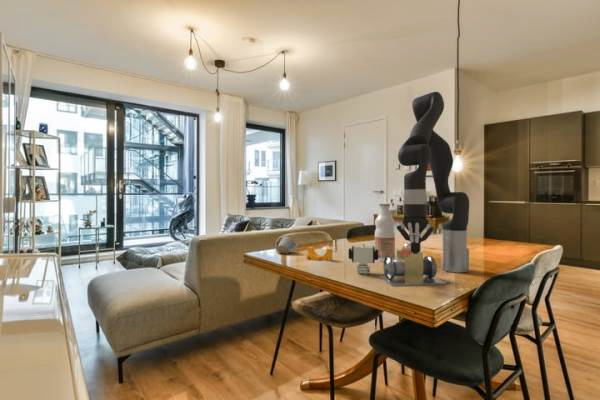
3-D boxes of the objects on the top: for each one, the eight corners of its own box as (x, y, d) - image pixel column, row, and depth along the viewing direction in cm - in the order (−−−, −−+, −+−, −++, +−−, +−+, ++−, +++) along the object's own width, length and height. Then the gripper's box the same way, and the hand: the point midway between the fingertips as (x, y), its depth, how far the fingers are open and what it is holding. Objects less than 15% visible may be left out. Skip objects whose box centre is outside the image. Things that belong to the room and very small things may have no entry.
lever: (415, 250, 120) (415, 243, 120) (411, 257, 105) (411, 249, 105) (404, 249, 121) (404, 242, 121) (398, 256, 106) (398, 249, 106)
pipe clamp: (306, 261, 155) (306, 247, 155) (310, 259, 159) (310, 246, 159) (329, 263, 150) (329, 249, 150) (332, 261, 154) (332, 248, 154)
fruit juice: (370, 261, 154) (370, 203, 154) (383, 259, 159) (383, 203, 159) (385, 264, 146) (386, 204, 146) (398, 262, 152) (398, 204, 152)
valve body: (427, 275, 125) (427, 248, 125) (446, 284, 112) (446, 253, 112) (378, 277, 122) (379, 249, 122) (392, 286, 110) (392, 255, 109)
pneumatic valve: (378, 275, 125) (378, 245, 125) (348, 273, 128) (348, 244, 128) (377, 272, 131) (377, 243, 131) (349, 270, 133) (349, 242, 133)
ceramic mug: (281, 257, 171) (273, 247, 170) (288, 248, 177) (280, 237, 176) (294, 253, 164) (285, 242, 163) (301, 243, 170) (292, 232, 169)
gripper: (438, 202, 107) (439, 253, 107) (400, 203, 115) (400, 250, 115) (432, 202, 101) (432, 256, 101) (392, 203, 109) (392, 253, 109)
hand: (415, 253), depth 108 cm, fingers closed
